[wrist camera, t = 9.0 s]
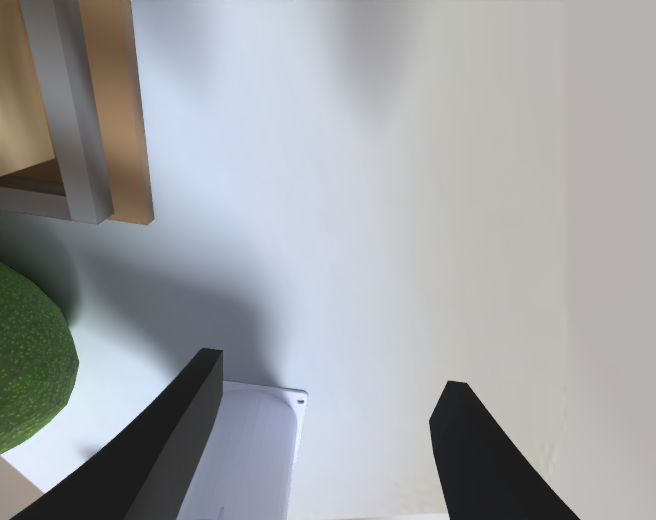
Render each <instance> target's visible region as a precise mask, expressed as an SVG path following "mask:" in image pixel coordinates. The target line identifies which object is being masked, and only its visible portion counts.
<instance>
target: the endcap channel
mask: <svg viewBox="0 0 656 520" xmlns="http://www.w3.org/2000/svg"><path fill="white" fill-rule="evenodd" d="M17 3H18V7H19V11H20V15H21V20H22V24H23V28H24V32H25V36H26V40H27V44H28V48H29V52H30V57H31V61H32V65H33V69H34V73H35V77H36V81H37V85H38V90H39V94H40V98H41V102H42V106H43V110H44V114H45V118H46V123H47V127H48V131H49V135H50V139H51V143H52V147H53V151H54V155H55V158H54V159H51V160H48V161H45V162H42V163H39V164H36V165H33V166H30V167H27V168H24V169H21V170H18V171H15V172H12V173H9V174H6V175H3V176H0V210H4V211H10V212H17V213H24V214H31V215H37V216H44V217H51V218H58V219H64V220H71V221H78V222H85V223H91V224H99V223H101V222H102V221H104V220H105V219H109V220H116V221H123V222H129V223H136V224H143V225H148V224H149V223H150V222H151V221H152V220H154V213H153V204H152V195H151V186H150V176H149V167H148V158H147V149H146V140H145V131H144V121H143V112H142V103H141V94H140V85H139V76H138V67H137V57H136V48H135V39H134V30H133V21H132V12H131V2H130V0H17Z"/></svg>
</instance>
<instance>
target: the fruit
mask: <svg viewBox="0 0 656 520" xmlns="http://www.w3.org/2000/svg"><path fill="white" fill-rule="evenodd" d="M78 367H79V360H78V356H77V352H76V349H75V345H74V341H73V338H72V335H71V332H70V330H69V327H68V325H67V323H66V321H65V319H64V316H63V314H62V312H61V310H60V308H59V307H58V306H57V305H56V304H55V303H54V302H53V301H52V300H51V299H50V298H49V297H48V296H47V295H46V294H45V293H44V292H43V291H42V290H41V289H40V288H39V287H38V286H37V285H36V284H34V283H33V282H32V281H31V280H29V279H28V278H26V277H25V276H23V275H21V274H20V273H18V272H17V271H15V270H13V269H12V268H10V267H8V266H7V265H5V264H4V263H2V262H0V454H2V453H4V452H6V451H8V450H10V449H12V448H14V447H16V446H18V445H19V444H21V443H23V442H24V441H26V440H27V439H29V438H31V437H32V436H33V435H34V434H35V433H37V432H38V431H39V430H40V429H42V428H43V427H44V426H45V425H46V424H48V423H49V422H50V421H51V420H52V419H53V418H54V417H55V416H56V415H57V414H58V413H59V412H60V411H61V410H62V409H63V408H64V407H65V406H66V405H67V403H68V400H69V398H70V395H71V393H72V390H73V388H74V385H75V381H76V376H77V371H78Z"/></svg>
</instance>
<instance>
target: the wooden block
mask: <svg viewBox="0 0 656 520" xmlns="http://www.w3.org/2000/svg"><path fill="white" fill-rule="evenodd" d="M54 158H55V155H54V151H53V147H52V143H51V139H50V135H49V131H48V127H47V123H46V118H45V114H44V110H43V106H42V102H41V98H40V94H39V90H38V85H37V81H36V77H35V73H34V69H33V65H32V61H31V57H30V52H29V48H28V44H27V40H26V36H25V32H24V28H23V24H22V20H21V15H20V11H19V7H18V3H17V0H0V176H3V175H6V174H9V173H12V172H15V171H18V170H21V169H24V168H27V167H30V166H33V165H36V164H39V163H42V162H45V161H48V160H51V159H54Z"/></svg>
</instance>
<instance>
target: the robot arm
mask: <svg viewBox="0 0 656 520" xmlns="http://www.w3.org/2000/svg"><path fill="white" fill-rule="evenodd" d="M299 399H301V400H303V402H299V401H298V400H299ZM307 401H308V394H307V392H305V391H300V390H292V389H285V388H277V387H269V386H261V385H254V384H246V383H238V382H230V381H223V350H215V349H208V348H202V349H201V350H199V351H198V353H197V354H196V355H195V356H194V357H193V359H192V360H191V361H190V362H189V363H188V364H187V366H186V367H185V368H184V369H183V370H182V371H181V372H180V373H179V375H178V376H177V377H176V378H175V379H174V380H173V381H172V382H171V383H170V384H169V385H168V386H167V387H166V388H165V389H164V390H163V391H162V392H161V394H160V395H159V396H158V397H157V398H156V399H155V400H154V401H153V402H152V403H151V404H150V405H149V406H148V407H147V408H146V409H145V410H144V411H143V412H142V413H140V414H139V415H138V416H137V417H136V418H135V419H134V420H133V421H132V422H131V423H130V424H129V425H128V426H127V427H126V428H124V429H123V430H122V431H121V432H120V433H119V434H118V435H117V436H116V437H115V438H113V439H112V440H111V441H110V442H109V443H108V444H107V445H105V446H104V447H103V448H102V449H101V450H100V451H98V452H97V453H96V454H95V455H94V456H92V457H91V458H90V459H89V460H88V461H86V462H85V463H84V464H83V465H82V466H80V467H79V468H78V469H77V470H75V471H74V472H73V473H71V474H70V475H69V476H68V477H66V478H65V479H64V480H62V481H61V482H60V483H59V484H57V485H56V486H55V487H53V488H52V489H51V490H50V491H48V492H47V493H46V494H44V495H43V496H42V497H40V498H39V499H38V500H36V501H35V502H33V503H32V504H31V505H29V506H28V507H27V508H25V509H24V510H22V511H21V512H19V513H18V514H16V515H15V516H14V517H12V518H11V519H9V520H287V513H288V505H289V496H290V488H291V479H292V471H293V465H294V464H295V463H296V460H297V455H298V449H299V444H300V439H301V433H302V428H303V423H304V417H305V412H306V407H307ZM429 424H430V432H431V440H432V447H433V454H434V458H435V462H436V466H437V470H438V474H439V478H440V482H441V486H442V490H443V494H444V498H445V502H446V505H447V509H448V513H449V517H450V520H580V519H579V518H578V517H577V516H576V515H575V513H574V512H573V511H572V510H571V509H570V508H569V507H568V506H567V505H566V504H565V503H564V502H563V501H562V500H561V499H560V498H559V496H557V494H556V493H555V492H554V491H553V490H552V489H551V488H550V486H549V485H548V484H547V483H546V482H545V481H544V479H543V478H542V477H541V476H540V475H539V474H538V473H537V471H536V470H535V469H534V468H533V467H532V466H531V464H530V463H529V462H528V461H527V460H526V458H525V457H524V456H523V455H522V454H521V452H520V451H519V450H518V449H517V447H516V446H515V445H514V444H513V442H512V441H511V440H510V439H509V437H508V436H507V435H506V434H505V432H504V431H503V430H502V428H501V427H500V426H499V425H498V423H497V422H496V421H495V419H494V418H493V417H492V415H491V414H490V413H489V412H488V410H487V409H486V408H485V406H484V405H483V404H482V402H481V401H480V400H479V398H478V397H477V396H476V394H475V393H474V392H473V390H472V389H471V388H470V387H469V385H468V384H467V383H463V382H456V381H448V382H447V384H446V386H445V388H444V390H443V392H442V394H441V397H440V399H439V401H438V403H437V405H436V407H435V409H434V411H433V413H432V415H431V418H430V420H429Z"/></svg>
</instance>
